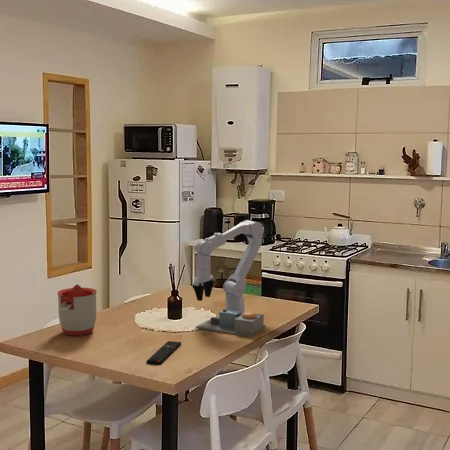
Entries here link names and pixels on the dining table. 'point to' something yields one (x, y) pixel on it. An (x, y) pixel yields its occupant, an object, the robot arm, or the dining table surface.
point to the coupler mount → (237, 324)
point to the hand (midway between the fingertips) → (203, 298)
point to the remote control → (163, 353)
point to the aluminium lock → (228, 318)
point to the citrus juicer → (77, 310)
